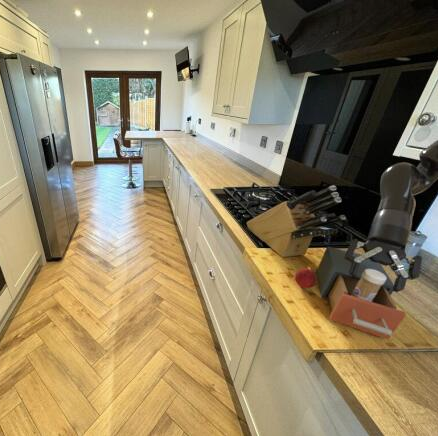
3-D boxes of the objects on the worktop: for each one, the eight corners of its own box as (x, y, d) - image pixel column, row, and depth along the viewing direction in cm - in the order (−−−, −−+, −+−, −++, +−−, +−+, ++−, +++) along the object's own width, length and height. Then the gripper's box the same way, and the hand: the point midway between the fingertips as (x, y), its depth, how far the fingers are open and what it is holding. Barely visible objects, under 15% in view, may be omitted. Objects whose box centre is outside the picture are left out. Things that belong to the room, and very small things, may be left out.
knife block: (299, 273, 85) (332, 193, 72) (244, 227, 116) (260, 165, 102) (324, 270, 88) (361, 192, 74) (264, 226, 118) (282, 165, 105)
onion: (316, 291, 77) (325, 272, 74) (302, 294, 76) (311, 275, 72) (301, 279, 82) (309, 261, 79) (288, 282, 81) (295, 263, 77)
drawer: (395, 355, 57) (415, 330, 53) (332, 332, 62) (346, 308, 58) (371, 302, 73) (385, 280, 69) (323, 287, 78) (333, 266, 74)
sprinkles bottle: (340, 304, 70) (360, 268, 64) (353, 303, 70) (374, 267, 64) (354, 317, 65) (377, 279, 60) (368, 315, 66) (392, 278, 60)
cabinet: (377, 315, 69) (395, 287, 64) (321, 298, 75) (335, 271, 70) (362, 283, 82) (377, 258, 77) (316, 270, 87) (327, 246, 82)
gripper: (418, 242, 64) (404, 298, 61) (352, 226, 71) (336, 275, 68) (435, 233, 58) (420, 294, 54) (361, 216, 65) (343, 269, 62)
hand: (373, 283), depth 61 cm, fingers open, 8 cm apart
